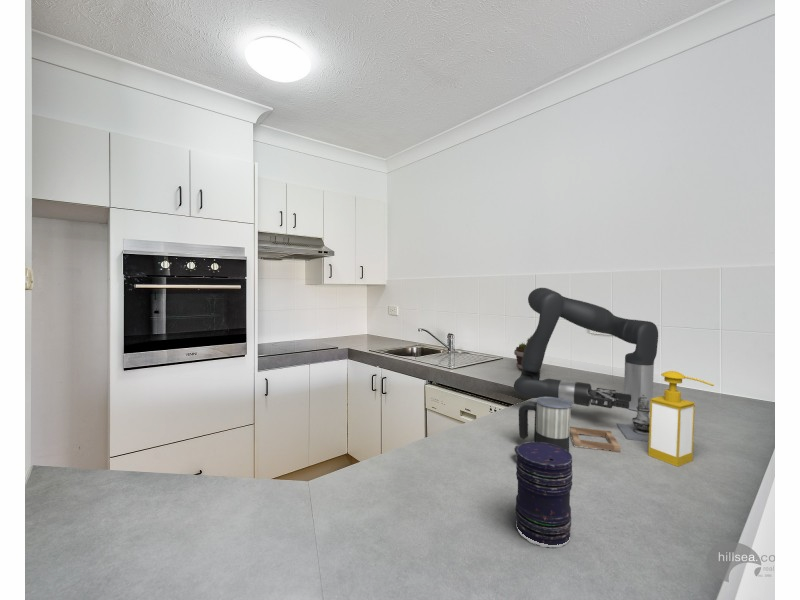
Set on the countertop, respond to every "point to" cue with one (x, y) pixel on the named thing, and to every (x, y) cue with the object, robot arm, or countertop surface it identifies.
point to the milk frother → (547, 421)
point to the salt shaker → (642, 417)
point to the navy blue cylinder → (544, 492)
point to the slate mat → (631, 432)
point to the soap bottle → (672, 423)
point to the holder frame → (611, 439)
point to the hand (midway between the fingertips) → (630, 401)
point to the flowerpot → (520, 354)
